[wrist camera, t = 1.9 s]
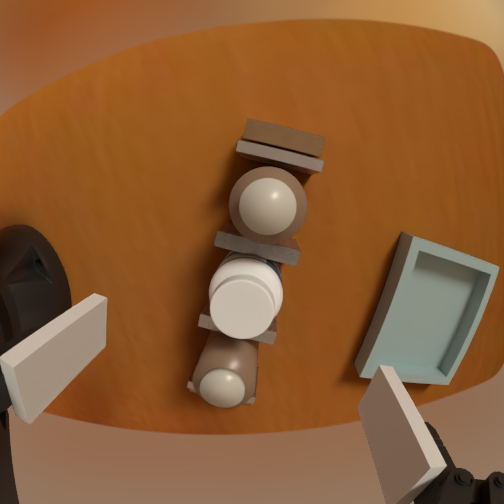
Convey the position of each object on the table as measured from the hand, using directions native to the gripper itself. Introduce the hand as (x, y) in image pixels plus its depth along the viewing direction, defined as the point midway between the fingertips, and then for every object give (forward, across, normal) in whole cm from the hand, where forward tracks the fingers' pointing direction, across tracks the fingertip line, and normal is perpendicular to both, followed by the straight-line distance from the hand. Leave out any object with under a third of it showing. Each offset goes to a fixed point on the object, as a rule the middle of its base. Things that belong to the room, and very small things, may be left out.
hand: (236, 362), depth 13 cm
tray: (+14, +18, 0) cm, 23 cm away
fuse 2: (+14, 0, +7) cm, 16 cm away
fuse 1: (+14, 0, -6) cm, 16 cm away
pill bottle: (+14, 0, 0) cm, 15 cm away
